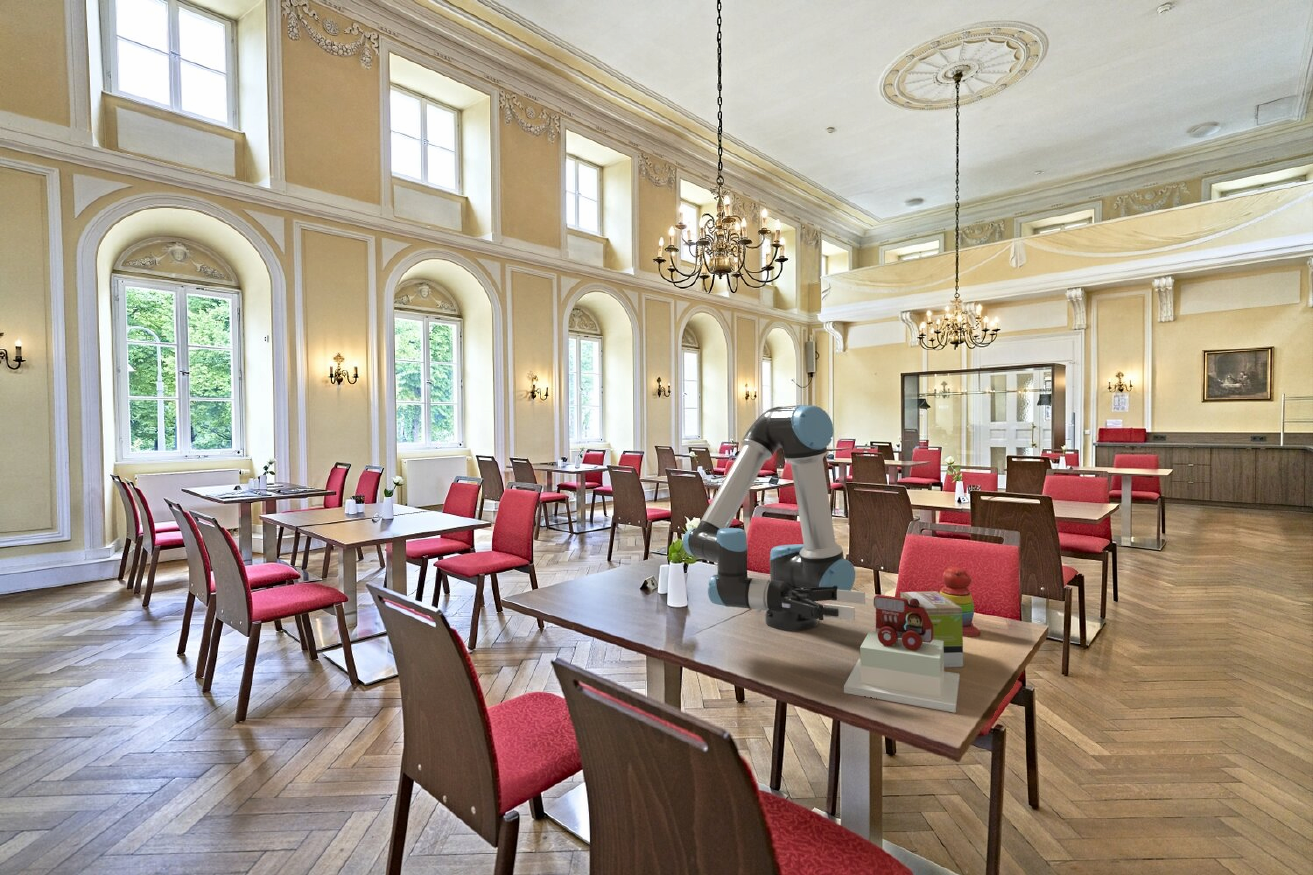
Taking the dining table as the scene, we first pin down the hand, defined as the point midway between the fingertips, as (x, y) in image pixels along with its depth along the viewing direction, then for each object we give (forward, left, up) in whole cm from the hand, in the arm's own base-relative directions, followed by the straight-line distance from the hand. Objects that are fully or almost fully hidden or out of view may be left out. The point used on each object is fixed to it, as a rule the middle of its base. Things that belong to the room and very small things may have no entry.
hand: (860, 605), depth 143 cm
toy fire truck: (+9, 0, -8) cm, 12 cm away
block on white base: (+9, 0, -17) cm, 19 cm away
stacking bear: (+18, +47, -17) cm, 53 cm away
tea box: (+13, +22, -17) cm, 31 cm away
